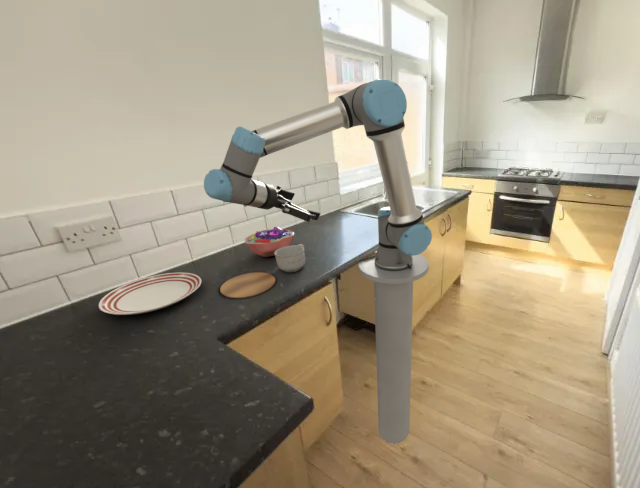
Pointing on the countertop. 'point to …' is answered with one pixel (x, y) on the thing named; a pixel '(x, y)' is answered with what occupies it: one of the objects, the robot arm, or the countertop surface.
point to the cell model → (269, 241)
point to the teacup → (290, 258)
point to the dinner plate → (149, 293)
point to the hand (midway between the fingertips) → (305, 206)
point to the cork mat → (247, 285)
